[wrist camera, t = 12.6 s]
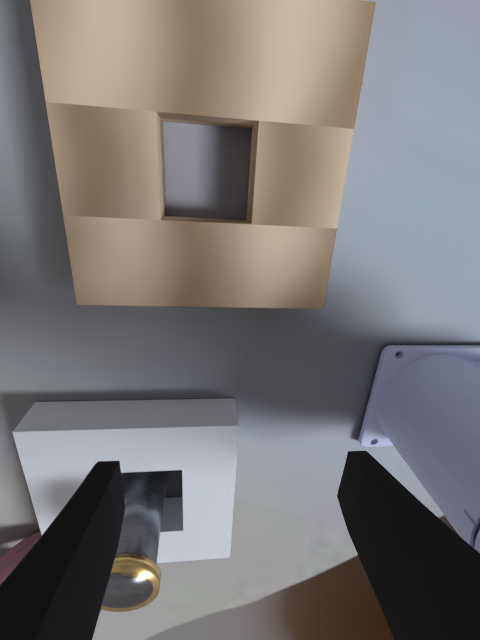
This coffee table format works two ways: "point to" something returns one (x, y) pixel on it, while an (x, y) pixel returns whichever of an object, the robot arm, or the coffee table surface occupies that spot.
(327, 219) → the pin mount
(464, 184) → the coffee table surface
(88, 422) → the dock
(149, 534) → the lock pin
